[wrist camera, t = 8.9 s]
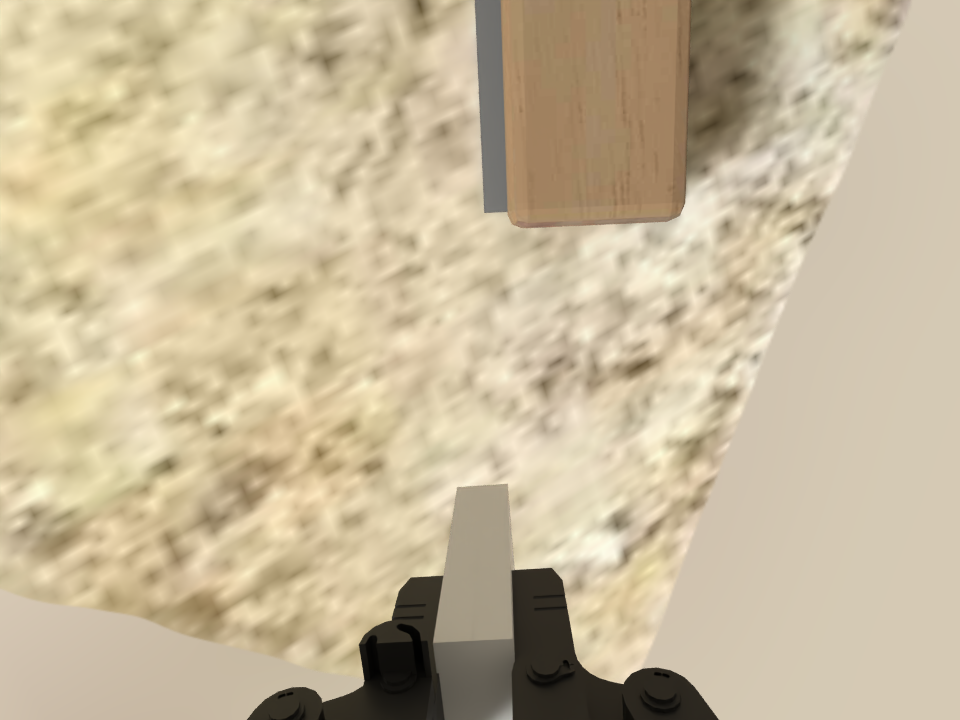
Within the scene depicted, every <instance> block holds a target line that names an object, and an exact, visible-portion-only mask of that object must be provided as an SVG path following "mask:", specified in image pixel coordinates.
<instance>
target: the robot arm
mask: <svg viewBox="0 0 960 720" xmlns="http://www.w3.org/2000/svg"><path fill="white" fill-rule="evenodd" d="M359 648H360V654H361V661H362V667H363V673H364V680H365V681H364V685H363V687H361V688H359V689H357V690H356V691H354V692H352V693H350V694H347V695H345V696H342V697H339V698H336V699H332V700H329V701H326V702H323V703H322V699H321V697H320V696H319V695H318V694H317V692H316V691H314V690H311V689H308V688H306V687H295V688H294V687H293V688H289V689H286V690H283V691H279V692H277V693H275V694H274V695H272V696H270V697H269V698H267V699H265V700H264V701H263V702H262V703H261V704H260V705H259V706H258V707H257V708H256V709H255V710H254V711H253V713H252V714H251V715H250V717H249V718H248V719H247V720H718V718H717V717H716V715H715V714H714V713H713V711H712V710H711V709H710V707H709V706H708V705H707V703H706V702H705V701H704V699H703V698H702V697H701V695H700V694H699V692H698V691H697V690H696V689H695V687H694V686H693V685H692V684H691V683H690V682H689V681H688V680H687V679H685V678H684V677H683V676H681V675H679V674H677V673H675V672H673V671H671V670H666V669H661V668H647V669H641V670H639V671H637V672H634V673H632V674H631V675H630V676H629V677H628V678H627V679H626V681H625V682H624V684H619V683H614V682H610V681H607V680H603V679H600V678H598V677H596V676H594V675H592V674H590V673H589V672H588V671H587V670H586V669H584V668H583V667H582V665H581V664H580V663H579V661H578V660H577V657H576V654H575V650H574V644H573V638H572V632H571V627H570V621H569V615H568V610H567V604H566V598H565V592H564V587H563V581H562V579H561V578H560V577H559V576H558V575H557V573H556V572H555V571H554V570H553V569H552V568H543V569H526V570H515V569H514V555H513V543H512V531H511V519H510V506H509V494H508V484H500V485H485V486H469V487H457V492H456V499H455V505H454V511H453V518H452V524H451V531H450V537H449V543H448V550H447V556H446V563H445V569H444V575H443V576H431V577H414V578H410V579H409V580H408V581H407V583H406V584H405V585H404V586H403V587H402V588H401V589H400V591H399V593H398V597H397V601H396V604H395V608H394V612H393V616H392V621H387V622H384V623H382V624H380V625H378V626H375V627H374V628H372V629H371V630H370V631H369V632H368V633H366V634H365V635H364V637H363V638H362V640H361V642H360V643H359Z"/></svg>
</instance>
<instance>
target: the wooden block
mask: <svg viewBox="0 0 960 720" xmlns="http://www.w3.org/2000/svg"><path fill="white" fill-rule="evenodd" d="M501 29H502V59H503V89H504V119H505V150H506V180H507V210H508V216H509V218H510V221H511V223H512V224H513V225H516V226H518V227H521V228H538V227H560V226H582V225H604V224H626V223H648V222H667V221H669V220H672V219H674V218H676V217H678V216H680V214H681V211H682V209H683V207H684V204H685V192H686V160H687V127H688V95H689V63H690V30H691V0H501Z"/></svg>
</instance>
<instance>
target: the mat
mask: <svg viewBox="0 0 960 720" xmlns="http://www.w3.org/2000/svg"><path fill="white" fill-rule="evenodd" d="M475 13H476V35H477V57H478V79H479V102H480V124H481V146H482V168H483V190H484V213H491V212H508V210H507V180H506V150H505V119H504V89H503V59H502V29H501V0H475Z"/></svg>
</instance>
